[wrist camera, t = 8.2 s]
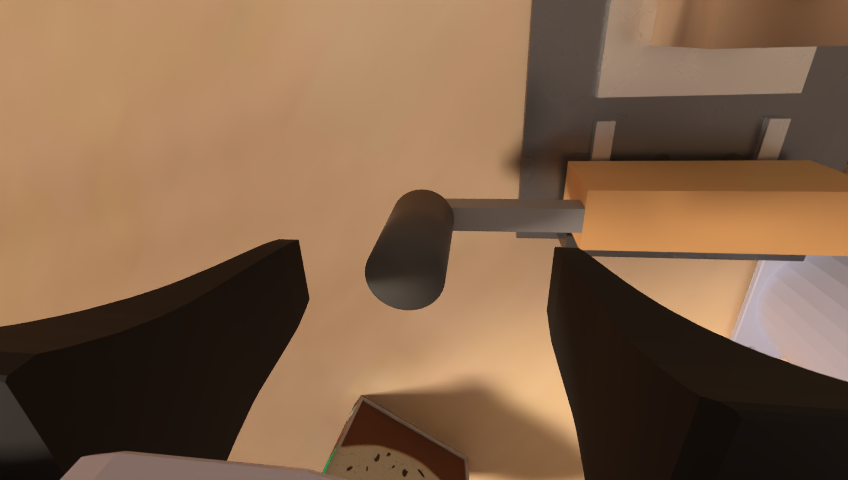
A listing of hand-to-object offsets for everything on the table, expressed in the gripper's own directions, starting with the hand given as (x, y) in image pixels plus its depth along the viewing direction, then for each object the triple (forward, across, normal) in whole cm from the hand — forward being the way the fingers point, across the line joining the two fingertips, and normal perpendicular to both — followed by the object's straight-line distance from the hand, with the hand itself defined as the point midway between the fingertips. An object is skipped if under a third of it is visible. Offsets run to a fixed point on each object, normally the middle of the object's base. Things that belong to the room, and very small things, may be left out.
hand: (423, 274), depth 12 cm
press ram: (+9, -7, +1) cm, 12 cm away
